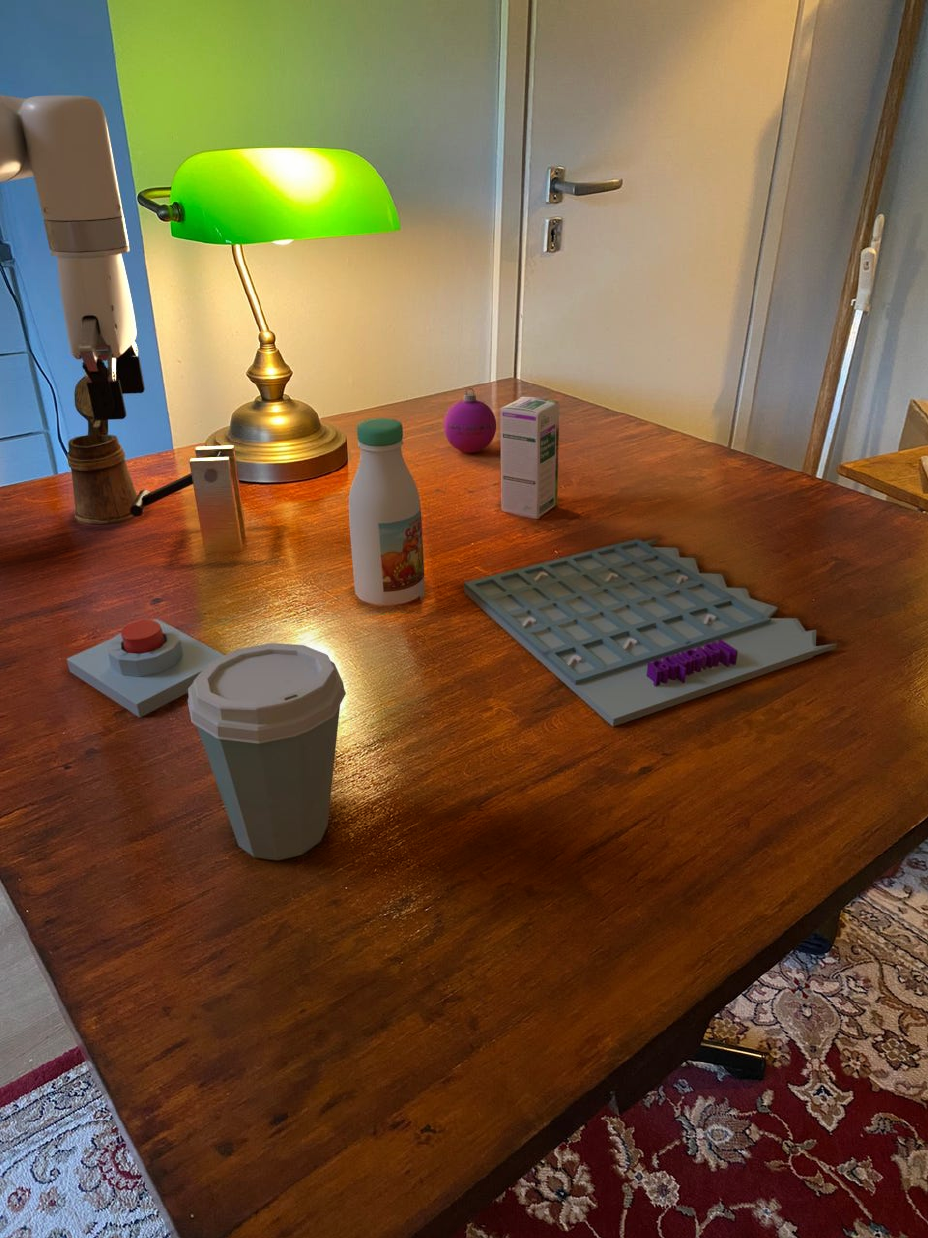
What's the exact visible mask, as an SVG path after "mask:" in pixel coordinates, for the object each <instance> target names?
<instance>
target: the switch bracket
mask: <svg viewBox="0 0 928 1238" xmlns="http://www.w3.org/2000/svg"><path fill="white" fill-rule="evenodd" d="M220 451H221V453H222V454H223V456H224V457H218V458H207V457H209V456H211V455H213V454H216V453H218V452H220ZM194 452H195V457H196V458H190V459H189V462H188V463H189V467H190V473H191V475H192V480H193V484H192V485H193V491H194V496H195V503H196V509H197V515H198V521H199V526H200V532H201V539H202V544H203V550H204V553H205V554H212V553H213V554H214V553H215V554H217V553H234V552H242V551H243V548H244V547H243V542H242V541H243V540H242V539H244V538H247V527H246V520H245V513H244V507H243V506H244V505H243V499H242V492H241V486H240V478H239V472H238V465H237V458H236V450H235V445H215V446H214V445H213V446H211V445H210V446H196V447H195V449H194Z"/></svg>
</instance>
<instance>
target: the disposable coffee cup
mask: <svg viewBox="0 0 928 1238" xmlns="http://www.w3.org/2000/svg"><path fill="white" fill-rule="evenodd" d="M187 695H188V699H187V705H188V710H189V716H190V721H191V723H192V724H193V725H195V726H196V729H197V731H198V734H199V738H200V741H201V743H202V746H203V749H204V752H205V755H206V757H207V760H208V763H209V766H210V769H211V771H212V774H213V777H214V780H215V783H216V786H217V788H218V791H219V794H220V797H221V800H222V803H223V806H224V808H225V812H226V814H227V816H228V820H229V822H230V825H231V829H232V831H233V834H234V837H235V840H236V842H237V845H238V847H239V848H241V849H242V850H243V851H245V852H246V853H248V854H249V855H250V856H252V857H253V858H256V859H264V860H271V861H281V860H286V859H290V858H294V857H299V856H302V855H304V854H306V853H307V852H308V851H310V850H311V849H312V848H313V847H316V845H318V844H319V843H321V842H322V839H323V837H324V835H325V832H326V831H327V828H328V824H329V818H330V808H331V807H330V806H331V796H332V789H333V788H332V786H333V778H334V769H335V768H334V767H335V758H336V748H337V739H338V731H339V730H338V729H339V721H340V710H341V705H342V703H343V701H344V698H345V696H346V695H347V692H346V689H345V685H344V681H343V679H342V677H341V675H340V673H339V671H338V667H337V666H336V664H335V662H333V661H332V660H331V659H330V657H329V655H328V654H326V653H324V652H322V651H319V650H318V649H317V650H316V649H314V648H311V647H309V646H307V645H305V644H292V643H278V642H277V643H276V642H271V643H265V644H259V645H253V646H248V647H241V648H237V649H235V650H233V651H231V652H228V653H227V654H224V656H222V657H220V658H218V659H216V660H214V661H211V662H210V663H209V664H208V665H207V666H206V667H205V668H204V670H203V671H202V672H201V673H200V674H199V675H198V676H197V678H196V679H195V680H194V682H193V683H192V685H191V686H190V687H189V688H188V693H187Z"/></svg>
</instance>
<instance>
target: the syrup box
mask: <svg viewBox="0 0 928 1238" xmlns="http://www.w3.org/2000/svg"><path fill="white" fill-rule="evenodd" d="M499 409H500V412H499V413H500V495H501V496H500V501H501V502H500V503H501V504H500V505H501V511H502V512H504V513H508V514H510V515H514V516H518V517H523V518H529V519H533V520H539V519H540V518H541V517H542V516H544V515H545V514H546V513H548V512H549V511H550V510H552V509H553V508H554V507H556V506H557V505H558V491H559V490H558V489H559V487H558V486H559V447H560V445H559V444H560V443H559V442H560V441H559V439H560V438H559V437H560V432H559V431H560V401H556V400H554V399H548V398H544V397H538V396H537V397H536V396H523V395H522V396H520V397H519V398H518V399H516V400H515V401H512V402H511V403H509V404H506V405H503V406H501V407H500V408H499Z"/></svg>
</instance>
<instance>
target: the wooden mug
mask: <svg viewBox="0 0 928 1238" xmlns="http://www.w3.org/2000/svg"><path fill="white" fill-rule="evenodd" d="M73 392H74V393H73V394H74V395H73V396H74V407H75V410H76V412H78V414H79V415H81V416H82V417H83V418H84V419H85V420H86V421H87V434H85V435H80V436H79V435H78V436H75V437H73V438H71V439H70V440H68V442H67V445H68V446H67V447H68V451H67V454H66V455H67V465H68V467H69V468H70V472H71V479H72V489H73V500H74V510H73V514H74V519H75V520H76V521H77V522H78V523H80V524H83V525H89V526H108V525H114V524H119V523H123V522H127V521H129V520H132V519H134V518H136V516H133V515H132V514H131V512H130V508H131V506H132V504H133V503H134V501H135V499H136V498H137V496H138V493H137V490H136V488H135V485H134V482H133V479H132V476H131V473H130V470H129V468H128V465H127V464H128V463H127V461H126V459H125V458H126V454H125V451H124V448H123V446H122V445H121V444H120V442H119V439H118V437H117V435H114V434H109V420H96V419H95V418H94V415H93V410H92V406H91V401H90V396H89V392H88V387H87V382H86V380H85V375H84V376H83V377H82V378H81V379H80V380H78V382H77V383H76V385H75V387H74V391H73Z"/></svg>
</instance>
